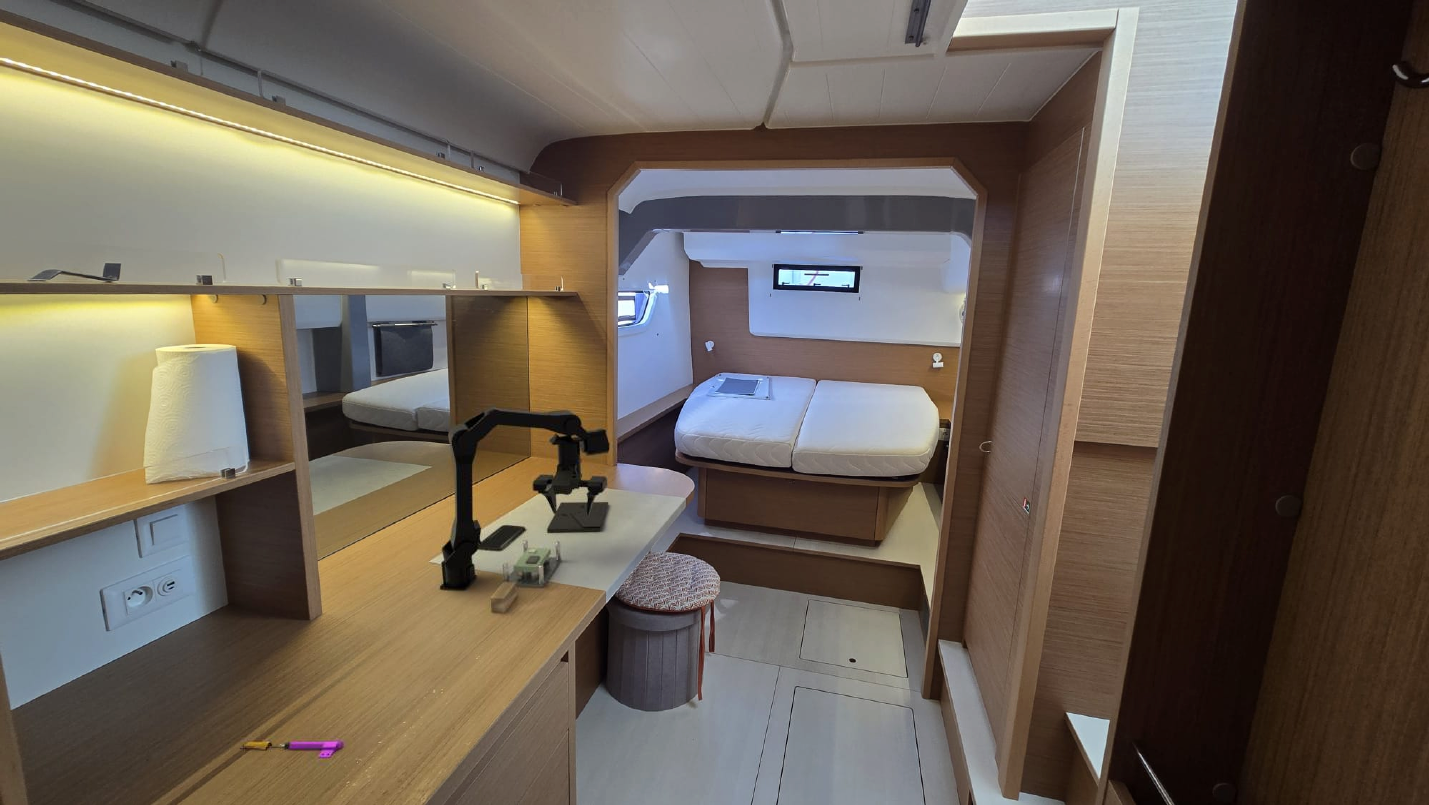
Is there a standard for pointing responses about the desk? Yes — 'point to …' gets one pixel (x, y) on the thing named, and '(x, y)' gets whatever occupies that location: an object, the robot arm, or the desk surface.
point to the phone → (501, 538)
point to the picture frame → (578, 518)
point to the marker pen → (307, 746)
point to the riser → (503, 597)
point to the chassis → (534, 578)
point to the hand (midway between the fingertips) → (571, 513)
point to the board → (532, 559)
